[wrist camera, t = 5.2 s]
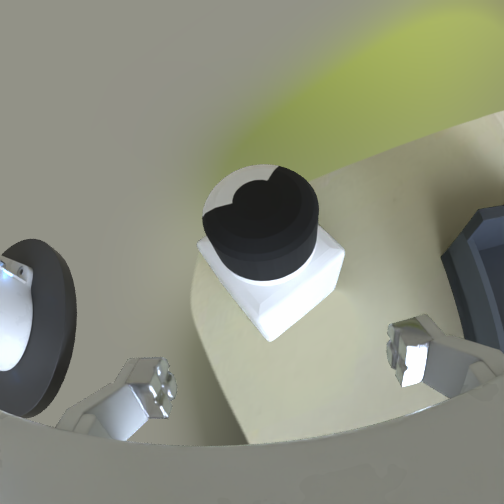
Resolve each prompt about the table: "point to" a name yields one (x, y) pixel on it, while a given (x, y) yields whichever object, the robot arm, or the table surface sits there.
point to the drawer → (479, 277)
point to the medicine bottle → (269, 245)
